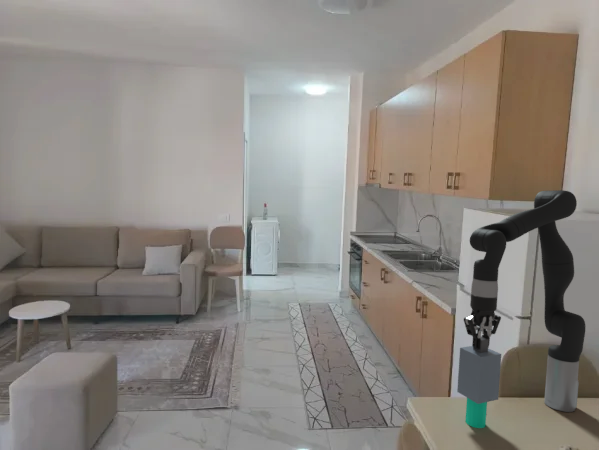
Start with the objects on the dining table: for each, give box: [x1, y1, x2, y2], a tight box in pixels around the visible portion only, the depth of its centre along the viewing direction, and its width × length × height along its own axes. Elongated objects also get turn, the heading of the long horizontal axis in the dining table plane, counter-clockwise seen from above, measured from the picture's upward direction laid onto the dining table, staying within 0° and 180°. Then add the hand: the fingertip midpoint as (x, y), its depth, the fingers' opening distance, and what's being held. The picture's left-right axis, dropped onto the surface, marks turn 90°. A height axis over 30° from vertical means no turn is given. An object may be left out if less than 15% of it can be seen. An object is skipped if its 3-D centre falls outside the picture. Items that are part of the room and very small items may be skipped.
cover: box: [456, 336, 502, 404], centre depth 132 cm, size 8×8×18 cm
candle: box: [465, 397, 488, 429], centre depth 133 cm, size 6×6×12 cm
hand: (480, 348), depth 132 cm, fingers closed on cover, 3 cm apart
